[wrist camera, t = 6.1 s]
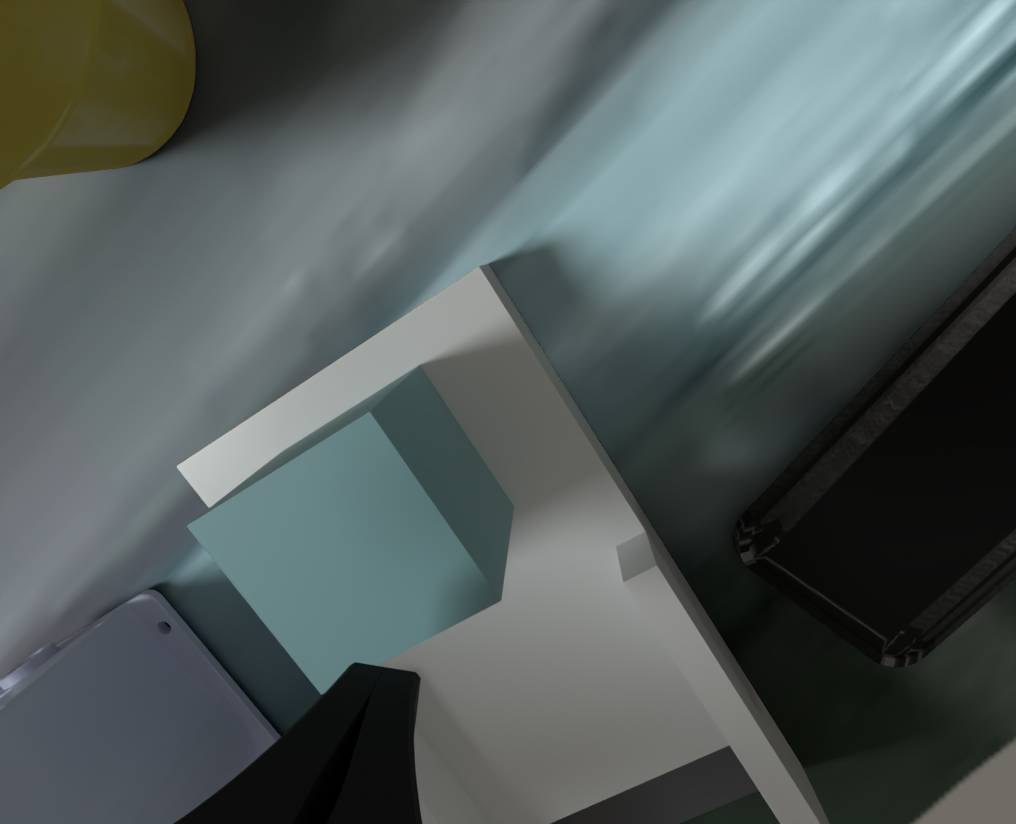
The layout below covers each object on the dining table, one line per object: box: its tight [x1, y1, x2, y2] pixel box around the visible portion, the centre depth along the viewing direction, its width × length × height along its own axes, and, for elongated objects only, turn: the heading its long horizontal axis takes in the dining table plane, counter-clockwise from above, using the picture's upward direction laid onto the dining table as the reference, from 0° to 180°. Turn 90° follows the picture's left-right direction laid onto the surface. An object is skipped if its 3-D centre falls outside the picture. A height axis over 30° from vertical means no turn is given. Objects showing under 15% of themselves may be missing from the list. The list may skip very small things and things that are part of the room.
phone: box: [733, 228, 1016, 667], centre depth 19 cm, size 8×1×15 cm
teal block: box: [187, 365, 514, 695], centre depth 16 cm, size 5×5×5 cm
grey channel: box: [176, 264, 830, 824], centre depth 20 cm, size 22×11×4 cm, turn 32°
